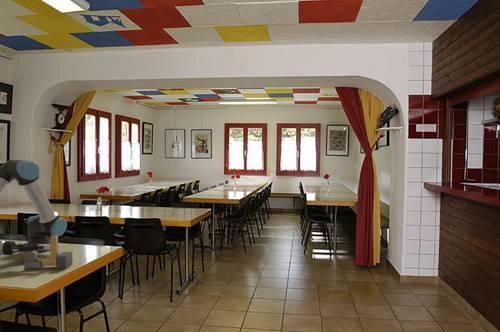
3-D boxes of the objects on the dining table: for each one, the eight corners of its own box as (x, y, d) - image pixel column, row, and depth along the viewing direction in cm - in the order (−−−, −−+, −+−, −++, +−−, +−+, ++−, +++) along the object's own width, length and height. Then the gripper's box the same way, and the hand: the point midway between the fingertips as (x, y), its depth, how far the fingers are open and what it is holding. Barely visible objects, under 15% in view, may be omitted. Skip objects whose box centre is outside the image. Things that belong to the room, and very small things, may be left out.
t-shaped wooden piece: (40, 264, 215) (40, 235, 214) (67, 263, 216) (66, 234, 216) (37, 266, 211) (37, 237, 210) (64, 265, 212) (64, 236, 212)
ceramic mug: (21, 263, 222) (21, 250, 222) (23, 260, 230) (23, 247, 230) (42, 261, 227) (42, 248, 227) (43, 258, 234) (43, 245, 234)
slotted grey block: (63, 264, 219) (63, 252, 219) (72, 264, 219) (72, 251, 219) (56, 269, 209) (55, 256, 209) (65, 269, 209) (65, 256, 209)
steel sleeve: (30, 266, 216) (30, 259, 216) (45, 266, 216) (45, 258, 216) (24, 270, 209) (24, 262, 209) (39, 269, 209) (39, 262, 209)
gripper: (11, 252, 217) (55, 250, 219) (-2, 258, 204) (45, 256, 206) (11, 238, 217) (55, 237, 219) (-2, 243, 204) (45, 242, 206)
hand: (50, 246), depth 213 cm, fingers closed
